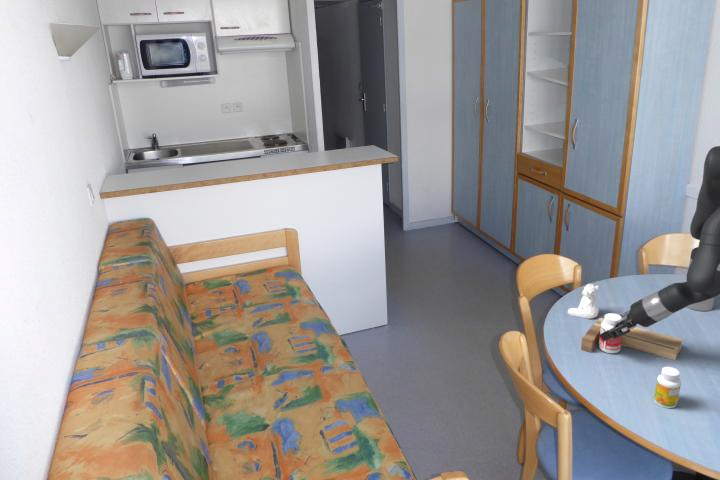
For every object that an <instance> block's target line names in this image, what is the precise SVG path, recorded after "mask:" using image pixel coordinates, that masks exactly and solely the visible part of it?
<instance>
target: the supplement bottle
mask: <svg viewBox="0 0 720 480" xmlns="http://www.w3.org/2000/svg"><path fill="white" fill-rule="evenodd" d="M681 385H682V382H681V379H680V371H679V369H677V368H675V367H672V366H664V367H662V368H661V372H660V374H659V375H658V376H657V378H656V385H655V390H654V396H653V400H654V402H655V403H656V405H658V406H659V407H662V408H666V409H673V408H675V407H677V404H678V401H679V396H680V390H681Z"/></svg>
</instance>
